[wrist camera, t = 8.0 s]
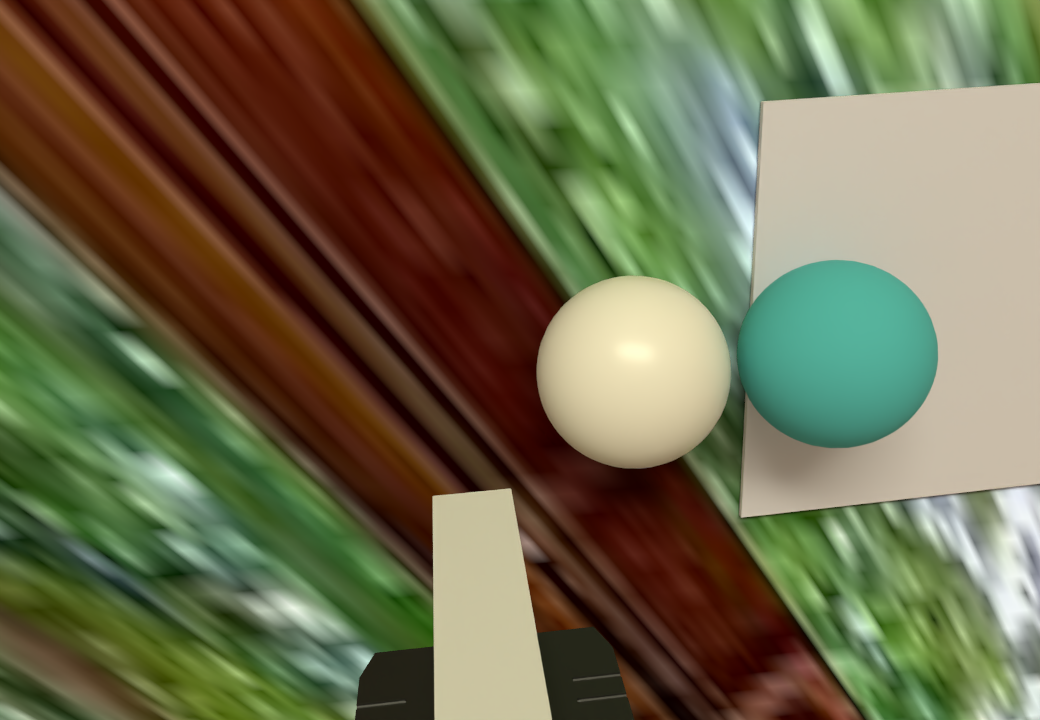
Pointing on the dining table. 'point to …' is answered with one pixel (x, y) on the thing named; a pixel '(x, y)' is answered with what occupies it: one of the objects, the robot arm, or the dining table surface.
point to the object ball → (837, 354)
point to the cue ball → (633, 372)
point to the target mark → (911, 281)
